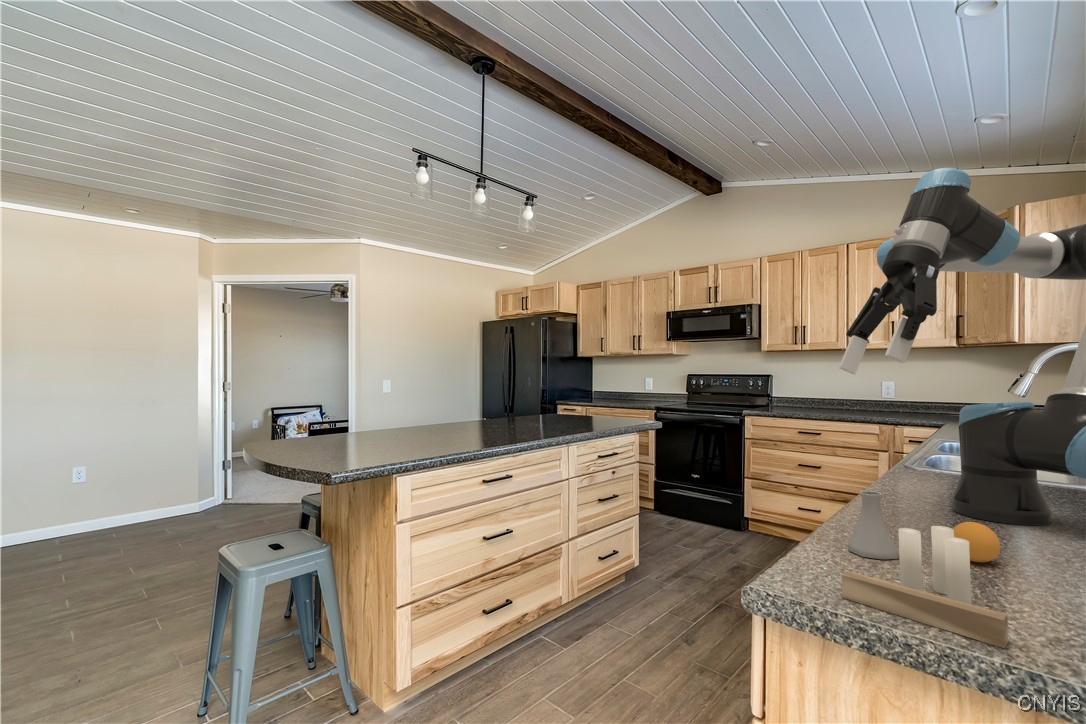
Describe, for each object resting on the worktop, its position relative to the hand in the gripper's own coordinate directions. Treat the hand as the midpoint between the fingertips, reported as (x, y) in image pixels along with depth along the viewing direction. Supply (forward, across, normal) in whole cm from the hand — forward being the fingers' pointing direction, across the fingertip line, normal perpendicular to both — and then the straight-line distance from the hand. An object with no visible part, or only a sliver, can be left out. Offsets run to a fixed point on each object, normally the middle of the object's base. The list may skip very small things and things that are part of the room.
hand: (868, 365), depth 83 cm
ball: (+19, -1, +25) cm, 31 cm away
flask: (+28, -4, +14) cm, 31 cm away
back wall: (+34, +18, +8) cm, 39 cm away
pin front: (+29, +10, +15) cm, 34 cm away
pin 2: (+30, +15, +14) cm, 36 cm away
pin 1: (+31, +11, +11) cm, 35 cm away
